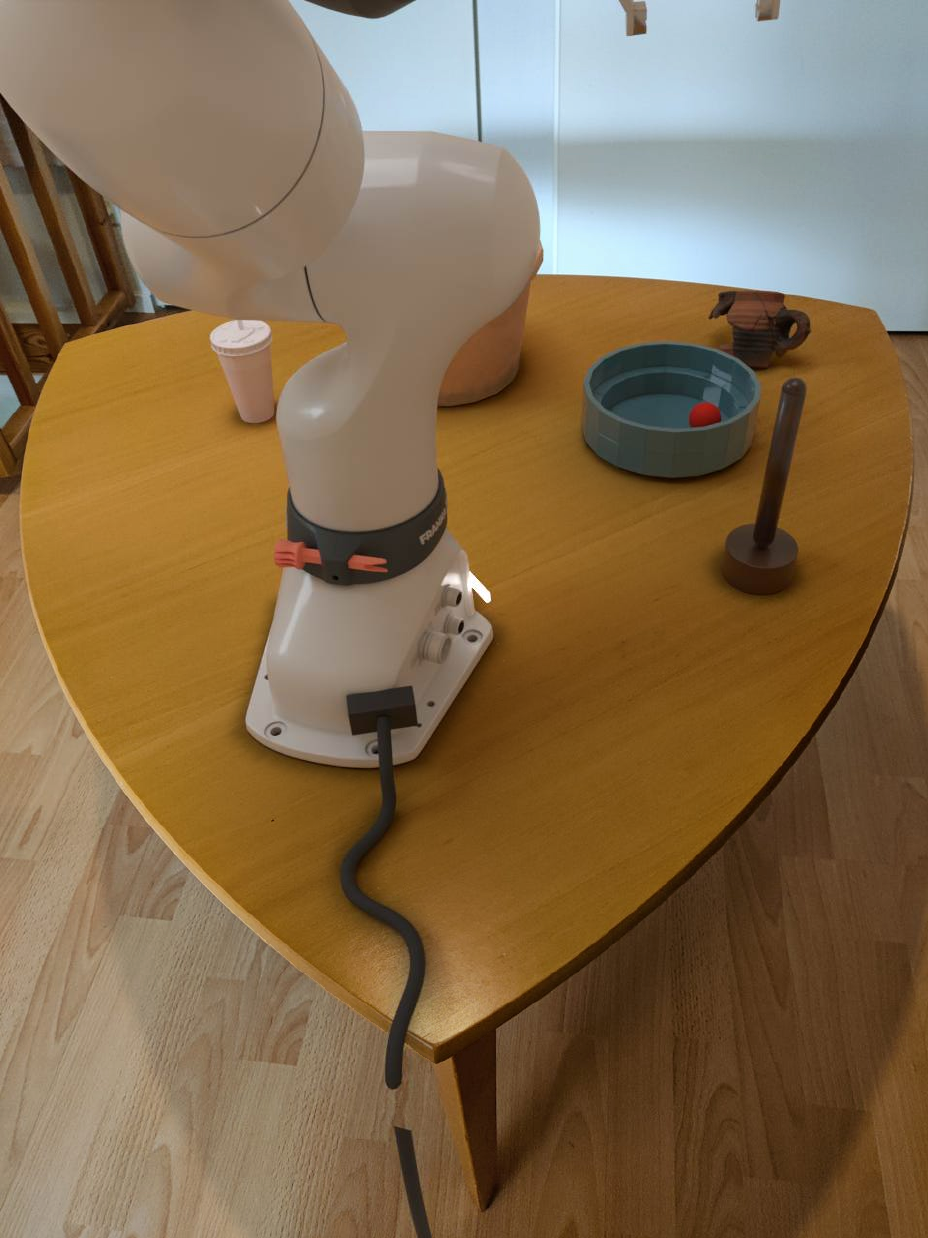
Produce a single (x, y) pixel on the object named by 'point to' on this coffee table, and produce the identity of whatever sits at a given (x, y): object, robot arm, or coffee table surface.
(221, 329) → the smoothie
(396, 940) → the coffee table surface
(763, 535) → the wooden plunger
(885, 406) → the coffee table surface
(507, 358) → the pottery
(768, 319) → the pottery mug
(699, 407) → the cherry tomato
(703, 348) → the bowl
